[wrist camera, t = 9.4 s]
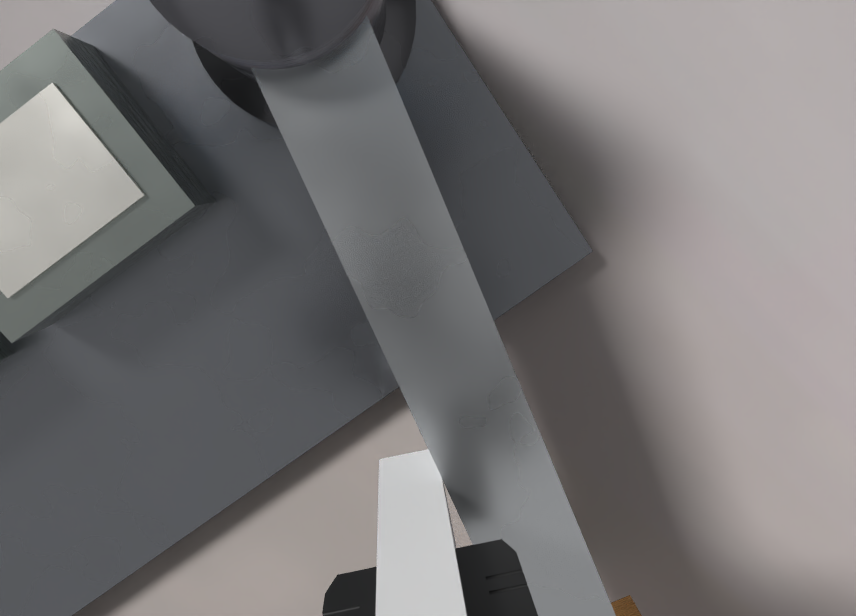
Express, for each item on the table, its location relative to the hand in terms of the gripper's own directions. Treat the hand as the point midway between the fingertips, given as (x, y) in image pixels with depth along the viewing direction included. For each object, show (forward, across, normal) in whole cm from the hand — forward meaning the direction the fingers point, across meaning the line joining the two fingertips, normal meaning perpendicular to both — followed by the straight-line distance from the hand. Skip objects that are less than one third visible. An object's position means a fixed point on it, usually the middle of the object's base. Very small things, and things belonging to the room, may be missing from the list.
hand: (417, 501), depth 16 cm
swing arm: (+3, +1, +4) cm, 5 cm away
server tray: (+4, -8, +5) cm, 11 cm away
